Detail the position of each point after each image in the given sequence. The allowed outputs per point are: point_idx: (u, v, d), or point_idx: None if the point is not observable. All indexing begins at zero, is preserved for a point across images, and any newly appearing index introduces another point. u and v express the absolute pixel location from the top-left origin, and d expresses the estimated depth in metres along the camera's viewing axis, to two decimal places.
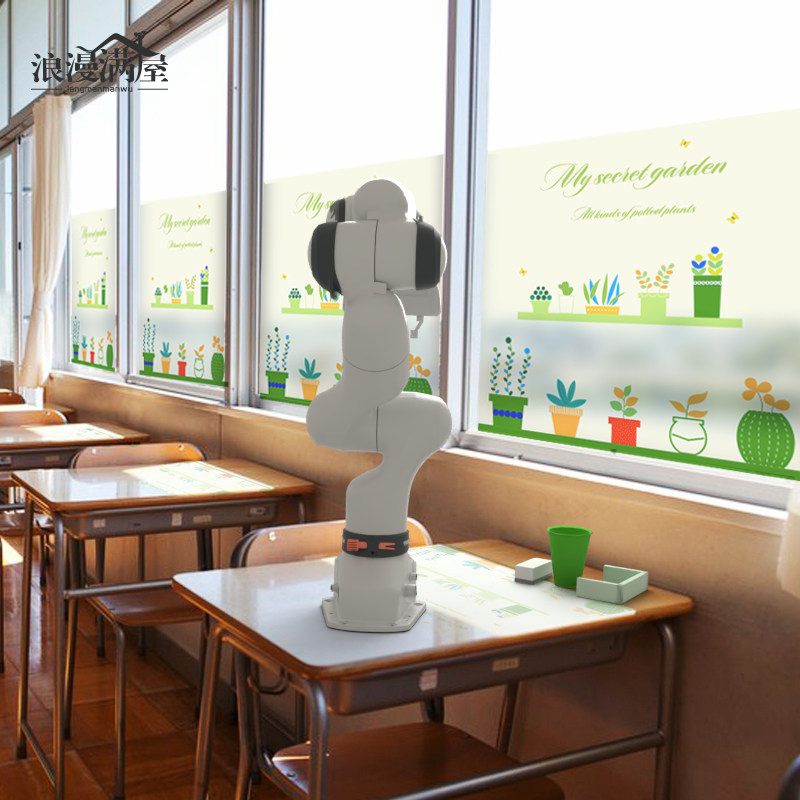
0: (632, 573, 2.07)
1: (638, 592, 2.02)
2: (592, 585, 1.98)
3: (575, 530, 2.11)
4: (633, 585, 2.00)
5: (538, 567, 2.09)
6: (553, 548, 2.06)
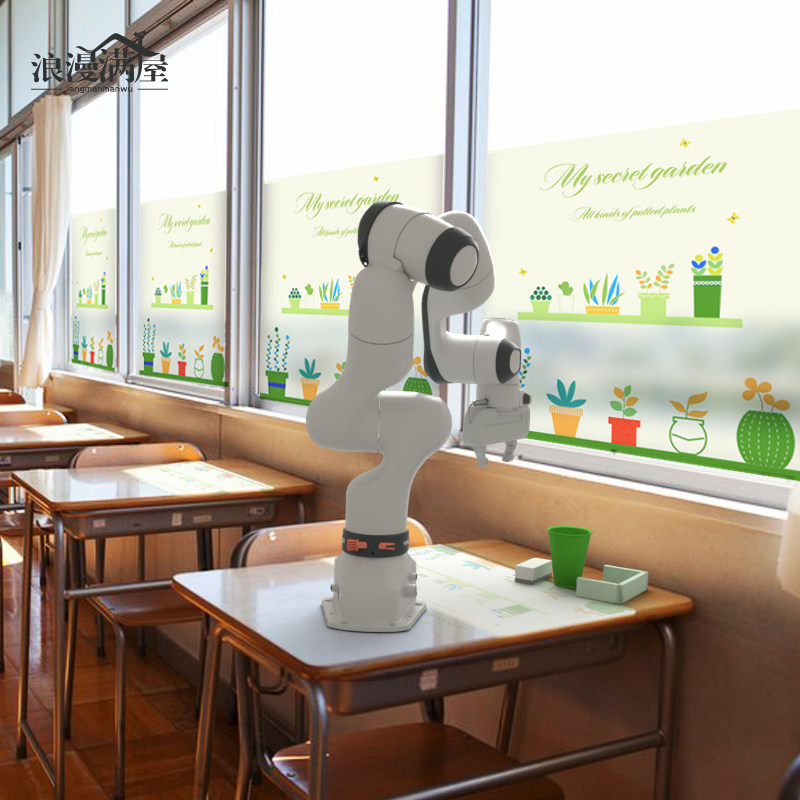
0: (632, 573, 2.07)
1: (638, 592, 2.02)
2: (592, 585, 1.98)
3: (575, 530, 2.11)
4: (633, 585, 2.00)
5: (538, 567, 2.09)
6: (553, 548, 2.06)
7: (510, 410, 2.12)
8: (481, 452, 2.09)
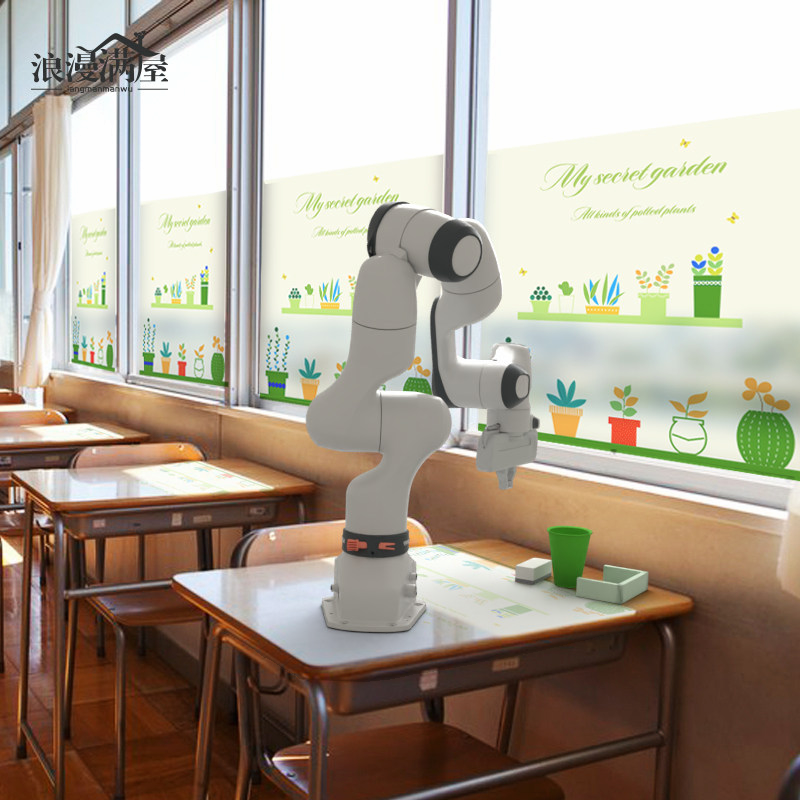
0: (632, 573, 2.07)
1: (638, 592, 2.02)
2: (592, 585, 1.98)
3: (575, 530, 2.11)
4: (633, 585, 2.00)
5: (538, 567, 2.09)
6: (553, 548, 2.06)
7: (521, 435, 2.13)
8: (503, 475, 2.13)
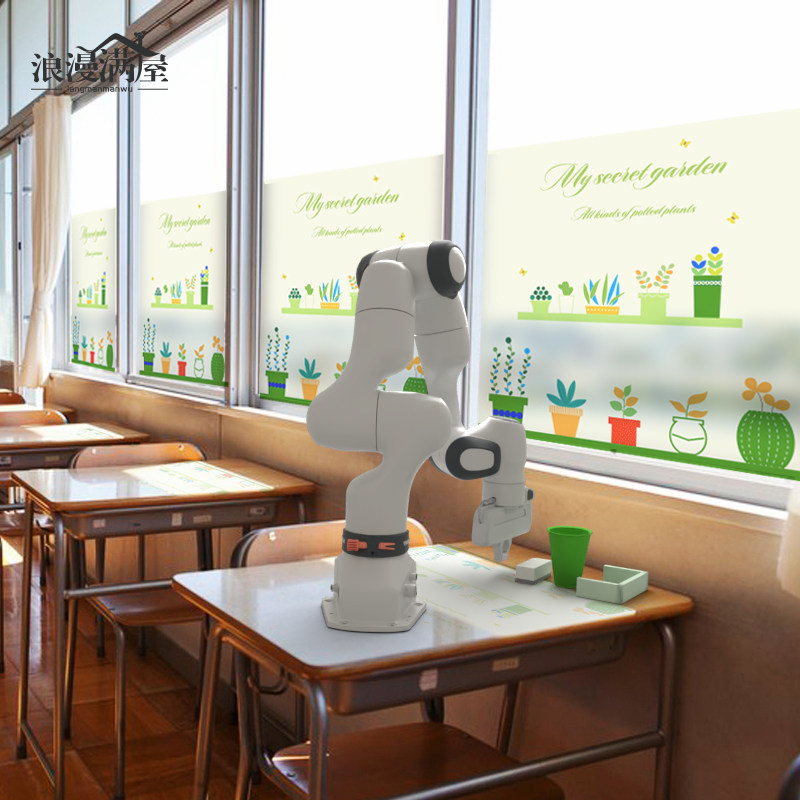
0: (632, 573, 2.07)
1: (638, 592, 2.02)
2: (592, 585, 1.98)
3: (575, 530, 2.11)
4: (633, 585, 2.00)
5: (539, 567, 2.09)
6: (553, 548, 2.06)
7: (516, 508, 2.14)
8: (499, 547, 2.14)
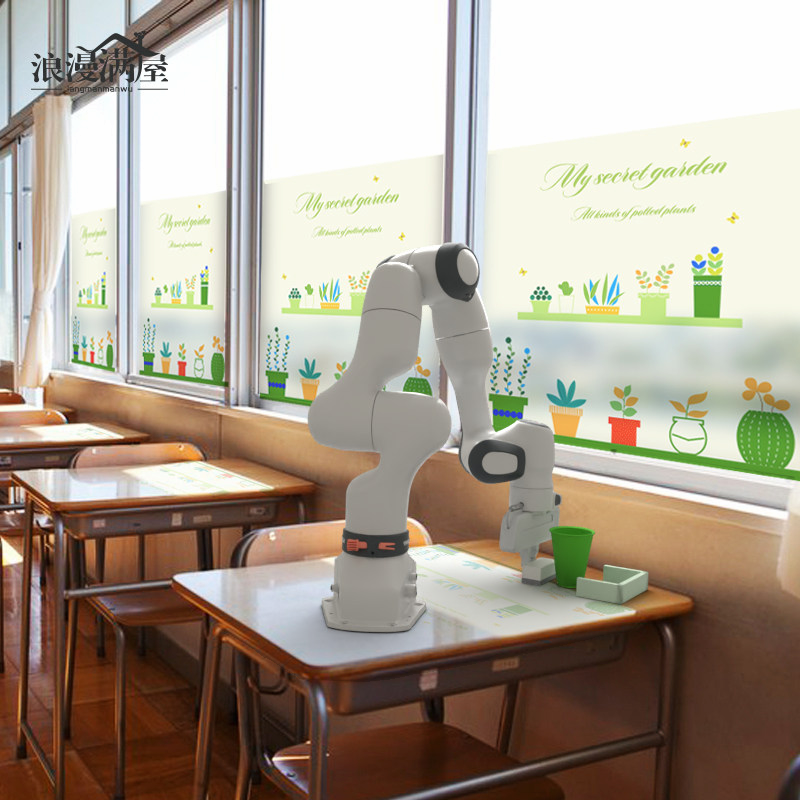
0: (632, 573, 2.07)
1: (638, 592, 2.02)
2: (592, 585, 1.98)
3: (578, 530, 2.11)
4: (633, 585, 2.00)
5: (545, 567, 2.09)
6: (556, 548, 2.06)
7: (544, 513, 2.11)
8: (526, 554, 2.11)
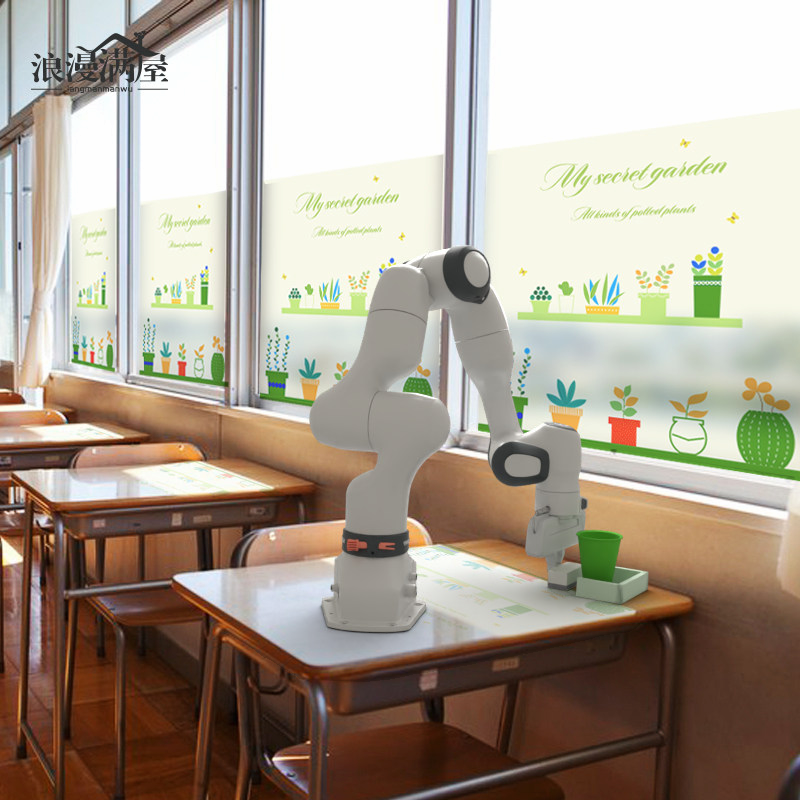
0: (632, 573, 2.07)
1: (638, 592, 2.02)
2: (592, 585, 1.98)
3: (604, 534, 2.08)
4: (633, 585, 2.00)
5: (572, 572, 2.05)
6: (584, 553, 2.02)
7: (571, 517, 2.07)
8: (552, 558, 2.07)
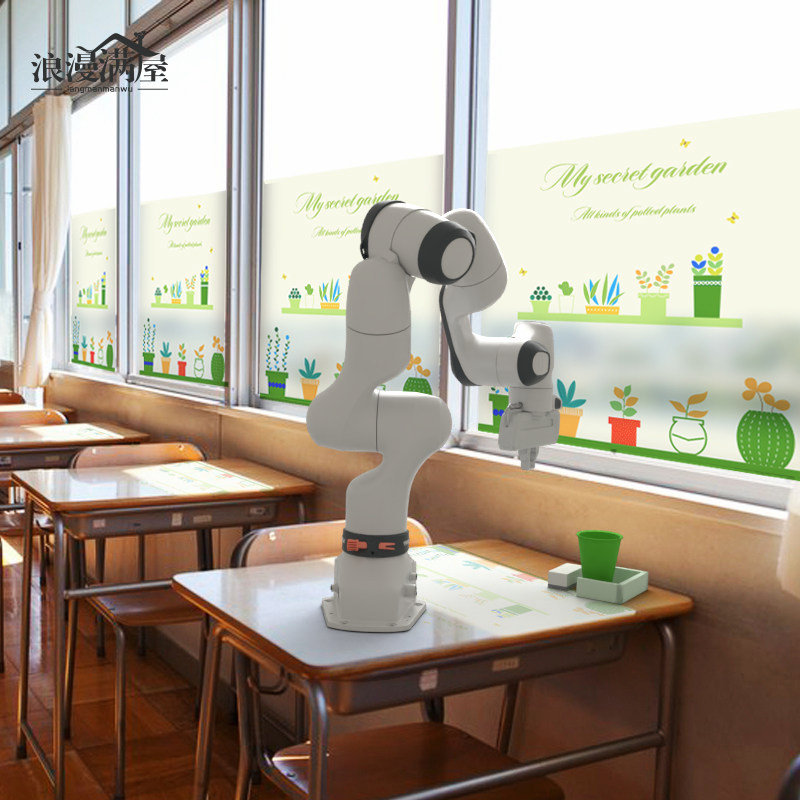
0: (632, 573, 2.07)
1: (638, 592, 2.02)
2: (592, 585, 1.98)
3: (604, 534, 2.08)
4: (633, 585, 2.00)
5: (572, 573, 2.05)
6: (584, 553, 2.02)
7: (544, 414, 2.10)
8: (526, 455, 2.10)
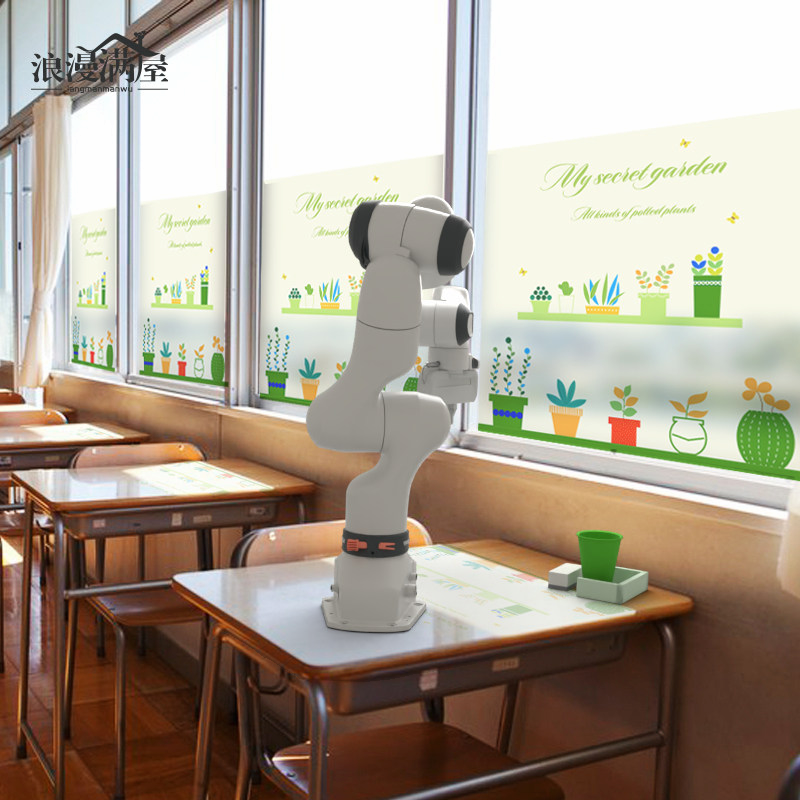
0: (632, 573, 2.07)
1: (638, 592, 2.02)
2: (592, 585, 1.98)
3: (604, 534, 2.08)
4: (633, 585, 2.00)
5: (572, 573, 2.05)
6: (584, 553, 2.02)
7: (460, 373, 2.24)
8: None
